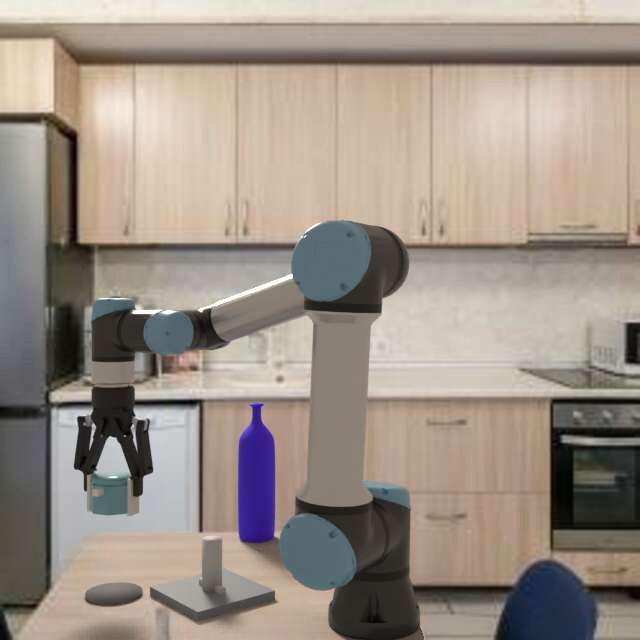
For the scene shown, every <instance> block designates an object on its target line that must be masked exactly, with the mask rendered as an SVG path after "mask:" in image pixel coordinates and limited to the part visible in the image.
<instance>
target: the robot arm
mask: <svg viewBox="0 0 640 640" xmlns="http://www.w3.org/2000/svg"><path fill="white" fill-rule="evenodd" d="M410 263H411V262H410V256H409V252H408V248H407V247H406V244H405V243H404V241H403V240H402V238H400V237H399V235H397V233H395V232H394V231H392V230H390V229H388V228H386V227H383V226H379V225H373V224H372V225H370V224H366V223H361V222H357V221H352V220H344V219H341V220H325V221H321V222H317V223H315V224H313V226H311V227H310V228H308V229H307V230H306V231H305V232H304V234H302V235H301V237H299V239H298V240H297V243H296V244H295V247H294V249H293V251H292V255H291V262H290V269H291V271H290V272H291V274H288V275H287V276H284V277H282V278H279V279H276V280H273V281H269V282H267V283H265V284H262V285H260V286H257V287H255V288H252V289H249V290H246V291H244V292H242V293H239V294H236V295H233V296H230V297H228V298H225V299H222V300H219V301H217V302H216V303H212V304H209V305H207V306H205V307H202V308H198V309H197V308H196V309H137V308H136V303H135V300H134V299H133V298H127V297H126V298H122V297H121V298H119V297H118V298H116V297H114V298H112V297H110V298H109V297H103V298H102V297H101V298H100V297H99V298H96V299H95V300H94V301H93V302H92V305H91V307H92V308H91V318H90V326H91V365H90V366H91V368H90V370H91V374H90V375H91V376H90V377H91V378H90V379H91V381H90V382H91V383H92V384H94V385H93V386H92V387H91V401H90V402H91V403H90V404H91V406H92V408H93V409H92V411H91V414H89V413H87V414H86V413H85V414H82V415H77V417H76V420H77V427H78V429H77V430H78V431H77V439H76V447H75V452H74V459H73V460H74V461H73V468H74V470H76V471H80V472H81V473H82V474H83V491H84V492H86V512H89V513H92V512H91V510H90V482H91V477H92V476H93V475H95V474H99V473H100V472H98V468H97V466H98V464H99V461H100V459H101V456H102V453H103V451H104V448H105V444H106V442H107V440H108V439H109V438H110V437H111V438H114V439H116V440H117V443H118V444H119V445H120V447H121V450H122V453H123V455H124V459H125V462H126V465H127V468H128V470H129V473H130V474H131V477H129V479H127V514H126V515H127V517H132V516H134V515H137V514H139V513H140V496H143V493H144V477H146V476H148V475H150V474H153V473H154V465H153V457H152V450H151V449H152V448H151V442H150V441H151V440H150V434H149V429H150V424H151V420H150V418H148V417H145V418H141V417H137V416H136V413H135V411H134V408H135V407H134V406H135V403H136V400H135V399H136V391H135V390H136V387H135V386H134V385H133V383H134V382H135V380H136V376H135V375H136V374H135V373H136V370H135V369H136V353H141V354H152V355H159V356H163V357H164V356H173V355H174V356H175V355H176V356H177V355H180V354H181V355H182V354H183V353H185V352H194V351H215V350H218V349H224V348H225V347H227V346H228V345H230V344H231V343H232V341H235V340H238V339H241V338H242V339H243V338H244V337H247V336H250V335H254V334H256V333H259V332H261V331H265V330H268V329H271V328H274V327H277V326H280V325H283V324H286V323H288V322H291V321H294V320H297V319H301V318H303V317H308V318H309V319H310V321H311V322H312V340H311V341H312V345H311V346H312V347H311V365H310V367H311V369H310V387H309V388H310V391H309V410H308V411H309V417H308V437H307V438H308V439H307V463H306V479H305V482H304V483H303V484H302V485H301V486H300V487H299V488H297V490H295V491H296V492H295V497H294V498H295V502H294V515H293V516H291V517H290V518H289V519H288V520H287V522H286V523H285V524H284V525H283V527H282V528H281V532H280V535H279V540H278V543H279V552H280V556H281V559H282V563H283V565H284V566H285V568H286V570H287V571H289V572H290V573H291V575H292V577H293V578H294V579H295V580H296V581H297V582H298V583H299V584H301V585H302V586H304V587H305V588H308V589H311V590H314V591H320V592H323V591H324V592H325V591H330V590H333V589H334V590H333V591H334V592H333V596H332V600H331V601H330V603H329V605H328V610H327V613H328V614H327V615H328V617H327V621H328V625H329V626H330V628H332V629H333V630H334V631H335V632H337V633H339V634H342V635H345V636H348V637H351V638H356V639H362V640H392V639H398V638H402V637H405V636H409V635H411V634H413V633H415V632H416V631H417V630H418V629H419V627H420V626H421V611H420V610H421V608H420V605H419V603H417V598H416V593H415V590H414V587H413V584H412V579H411V577H410V576H411V574H410V573H411V572H410V570H411V568H410V567H411V566H410V565H411V561H410V560H411V559H410V558H411V511H412V506H411V497H410V491H409V490H408V489H407V488H406V487H405V486H403V485H400V484H396V483H390V482H383V481H372V480H364V479H365V478H364V474H365V457H366V456H365V455H366V454H365V453H366V435H367V415H368V394H369V372H370V371H369V370H370V354H371V353H370V350H371V349H370V348H371V331H372V329H371V328H372V325H373V323H374V322H376V321H377V320H378V319H379V318H380V317H381V316H382V315H383V314H382V311H383V299H385V298H386V299H387V298H388V297H390V296H392V295H393V294H395V293H397V292H398V290H400V289H401V288H402V286H403V284H404V283H405V281H406V279H407V277H408V274H409V270H410ZM93 424H94V426H95V430H94V433H93V434H92V432H93ZM132 426H133V429H134V430H135V431H134V433H135V438H134V434H133V431H132ZM91 438H92V439H93V440H92V439H91ZM134 439H135V440H134ZM91 440H92V442H91ZM135 442H136V445H135Z"/></svg>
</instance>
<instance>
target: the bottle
mask: <svg viewBox="0 0 640 640" xmlns="http://www.w3.org/2000/svg"><path fill="white" fill-rule="evenodd" d="M249 406H250V407H251V410H252V412H251V413H252V414H251V415H252V417H251V422H249V425H248V426H247V427H246V428H245V429H244V430H243V432H242V433H241V435H240V437H239V440H238V449H237V450H238V452H237V453H238V454H237V458H238V459H237V525H238V527H237V529H238V530H237V531H238V538H239V539H240V541H243V542H246V543H265V542H266V543H267V542H269V541H272V540H273V539H274V537H275V533H276V532H275V530H276V529H275V528H276V448H275V447H276V446H275V445H276V444H275V437H274V436H273V434H272V433H271V431H270V430H269V428H268V427H267V426H266V425H265V424H264V422H263V420H262V407H263V406H264V403H262V402H251V403H249Z"/></svg>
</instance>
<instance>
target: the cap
mask: <svg viewBox="0 0 640 640" xmlns="http://www.w3.org/2000/svg"><path fill="white" fill-rule="evenodd" d="M98 473H99V474H95V475H93V476H92V477H91V482H90V510H91V512H90V513H92V514H93V515H99V516H100V515H101V516H108V517H109V516H117V515H127V479H129V477H131V474H130V471H129V472H128V471H107V472H106V471H105V472H98Z"/></svg>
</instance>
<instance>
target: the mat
mask: <svg viewBox="0 0 640 640" xmlns="http://www.w3.org/2000/svg"><path fill="white" fill-rule="evenodd" d="M142 596H143V587H142V586H141V585H138V584H136V583H132V582H120V581H119V582H117V581H116V582H109V583H102V584H99V585H95V586H92V587H91V588H89V589H87V590H86V591H85V593H84V599H85V600H86V602H88V603H90V604H92V605H98V606H116V605H117V606H118V604H119V605H124V604H127V603H128V602H129V603H131V602H130V601H132V602H134V601H136V599H137V600H138V599H139V598H140V599H141V597H142ZM123 603H124V604H123ZM129 603H128V604H129Z"/></svg>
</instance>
